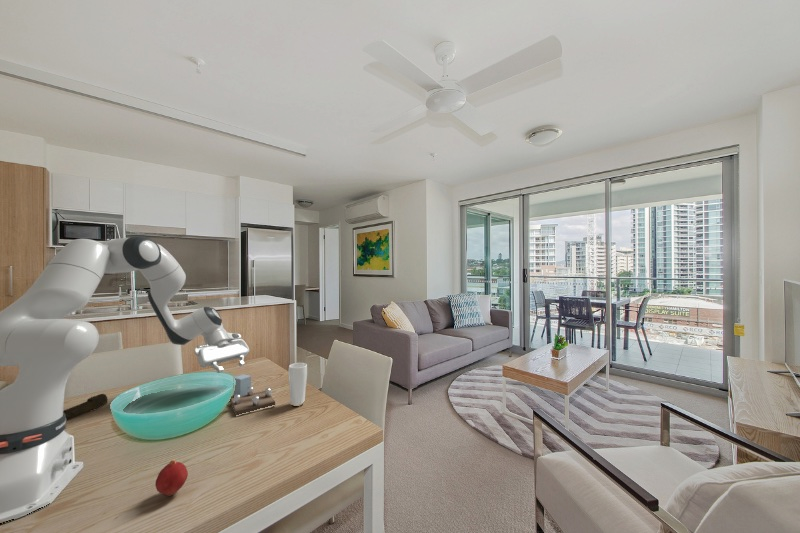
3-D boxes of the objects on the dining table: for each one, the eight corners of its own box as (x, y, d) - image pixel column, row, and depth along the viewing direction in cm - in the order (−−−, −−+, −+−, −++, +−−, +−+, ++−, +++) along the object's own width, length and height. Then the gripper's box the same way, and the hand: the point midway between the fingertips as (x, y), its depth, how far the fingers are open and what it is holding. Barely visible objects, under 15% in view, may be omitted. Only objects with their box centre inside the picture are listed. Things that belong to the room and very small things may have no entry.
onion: (148, 504, 65) (149, 467, 66) (168, 485, 71) (169, 451, 71) (174, 504, 66) (175, 467, 66) (193, 485, 71) (193, 452, 71)
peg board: (275, 407, 113) (275, 393, 113) (236, 416, 105) (236, 402, 105) (267, 395, 123) (267, 383, 123) (230, 403, 115) (231, 390, 115)
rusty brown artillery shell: (48, 430, 95) (48, 416, 95) (37, 429, 96) (38, 414, 96) (113, 404, 114) (113, 392, 114) (104, 404, 114) (104, 391, 114)
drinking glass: (297, 409, 111) (298, 369, 111) (284, 406, 113) (284, 366, 114) (310, 402, 117) (310, 364, 117) (297, 399, 120) (297, 361, 120)
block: (250, 395, 123) (251, 376, 123) (240, 399, 119) (240, 379, 119) (243, 393, 125) (244, 374, 125) (233, 397, 121) (233, 377, 121)
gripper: (195, 342, 120) (209, 371, 115) (243, 333, 138) (257, 357, 133) (189, 352, 122) (202, 380, 117) (237, 341, 140) (250, 366, 135)
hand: (232, 368), depth 125 cm, fingers open, 8 cm apart
